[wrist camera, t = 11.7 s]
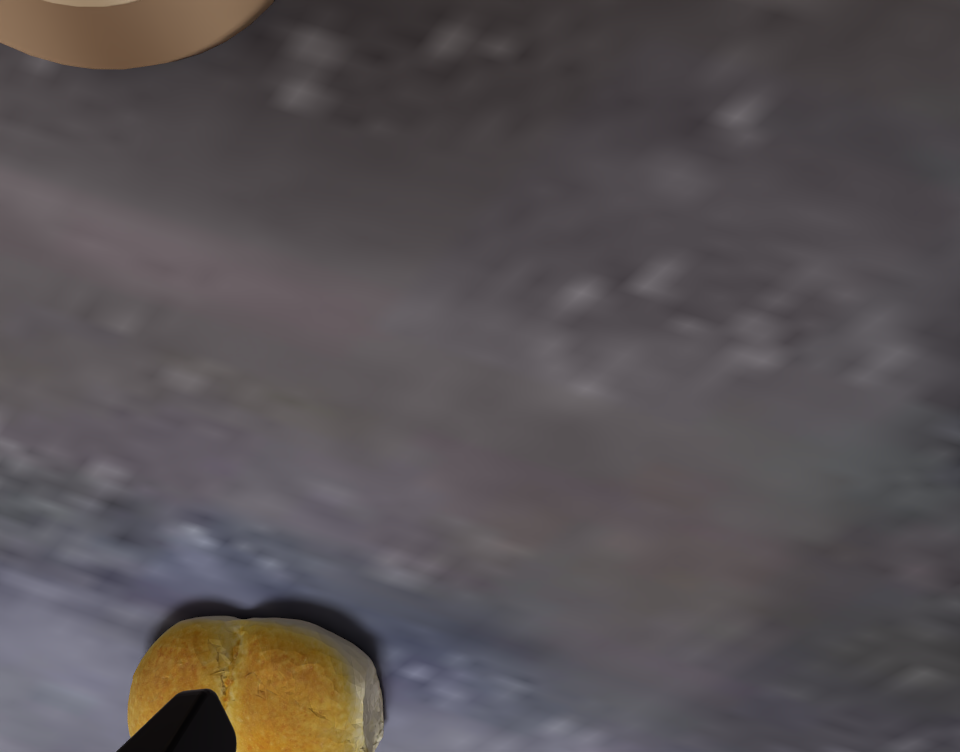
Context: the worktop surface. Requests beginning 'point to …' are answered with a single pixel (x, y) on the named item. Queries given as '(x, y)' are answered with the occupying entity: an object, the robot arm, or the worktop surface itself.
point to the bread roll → (267, 683)
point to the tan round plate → (122, 29)
